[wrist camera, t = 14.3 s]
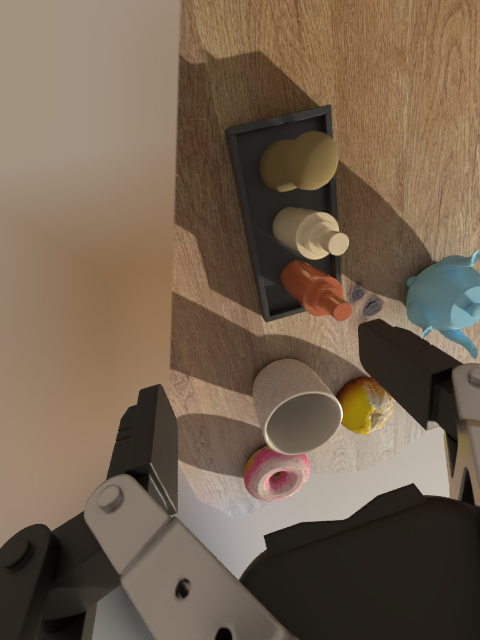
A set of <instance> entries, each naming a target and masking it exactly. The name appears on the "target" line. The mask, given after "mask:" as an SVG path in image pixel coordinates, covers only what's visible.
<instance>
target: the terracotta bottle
mask: <svg viewBox="0 0 480 640" xmlns="http://www.w3.org/2000/svg"><path fill="white" fill-rule="evenodd" d="M281 284H282V286H283V288H284V289H285V290H286V291H287V292H288V293H289V294H290V295H291V296H292V297H293V298H294V299H295V300H296V301H297V302H298V303H299V304H300V305H301V306H302V307H303V308H304V309H305V310H306V311H307V312H309V313H310V314H312V315H314V316H324V315H331V316H332V317H333V318H334V319H336V320H337V321H344V320H346V319H347V318H348V317H349V316H350V315H351V312H352V307H351V305H350V304H349V303H347V302H346V301H344V300H343V290H342V286H341V284H340V283H339V281H338V280H336V279H335V278H333V277H332V276H330V275H328V274H327V273H325V272H323V271H322V270H320V269H318V268H317V267H315V266H313V265H312V264H310V263H308V262H307V261H304V260H294V261H292V262H290V263H289V264H287V265H286V266H285V267H284V269H283V271H282V273H281Z"/></svg>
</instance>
